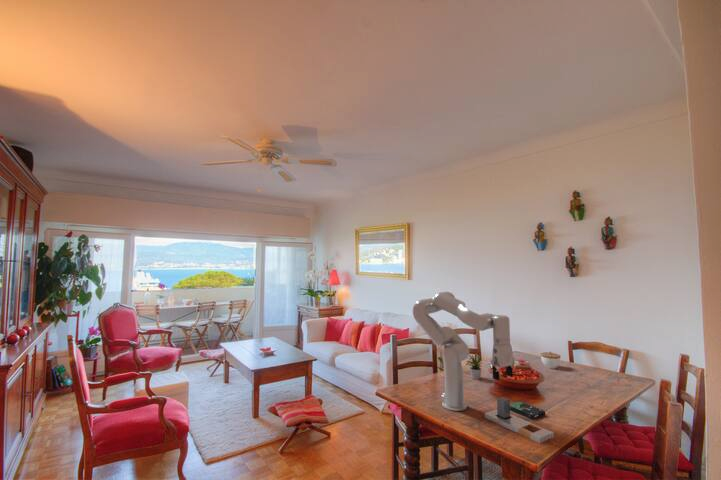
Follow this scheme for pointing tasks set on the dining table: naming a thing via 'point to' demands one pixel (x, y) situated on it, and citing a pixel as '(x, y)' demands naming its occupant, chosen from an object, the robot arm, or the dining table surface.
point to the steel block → (503, 408)
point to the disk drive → (526, 410)
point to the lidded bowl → (550, 360)
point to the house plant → (475, 367)
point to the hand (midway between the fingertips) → (502, 377)
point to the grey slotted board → (521, 427)
